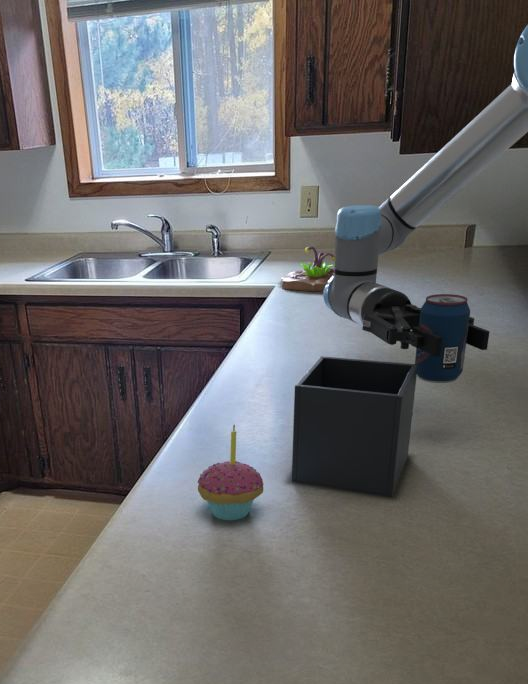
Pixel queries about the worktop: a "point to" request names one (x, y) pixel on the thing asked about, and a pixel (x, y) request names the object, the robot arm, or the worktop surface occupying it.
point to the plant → (310, 274)
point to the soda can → (444, 337)
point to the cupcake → (230, 486)
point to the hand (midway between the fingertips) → (462, 343)
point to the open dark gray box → (353, 424)
